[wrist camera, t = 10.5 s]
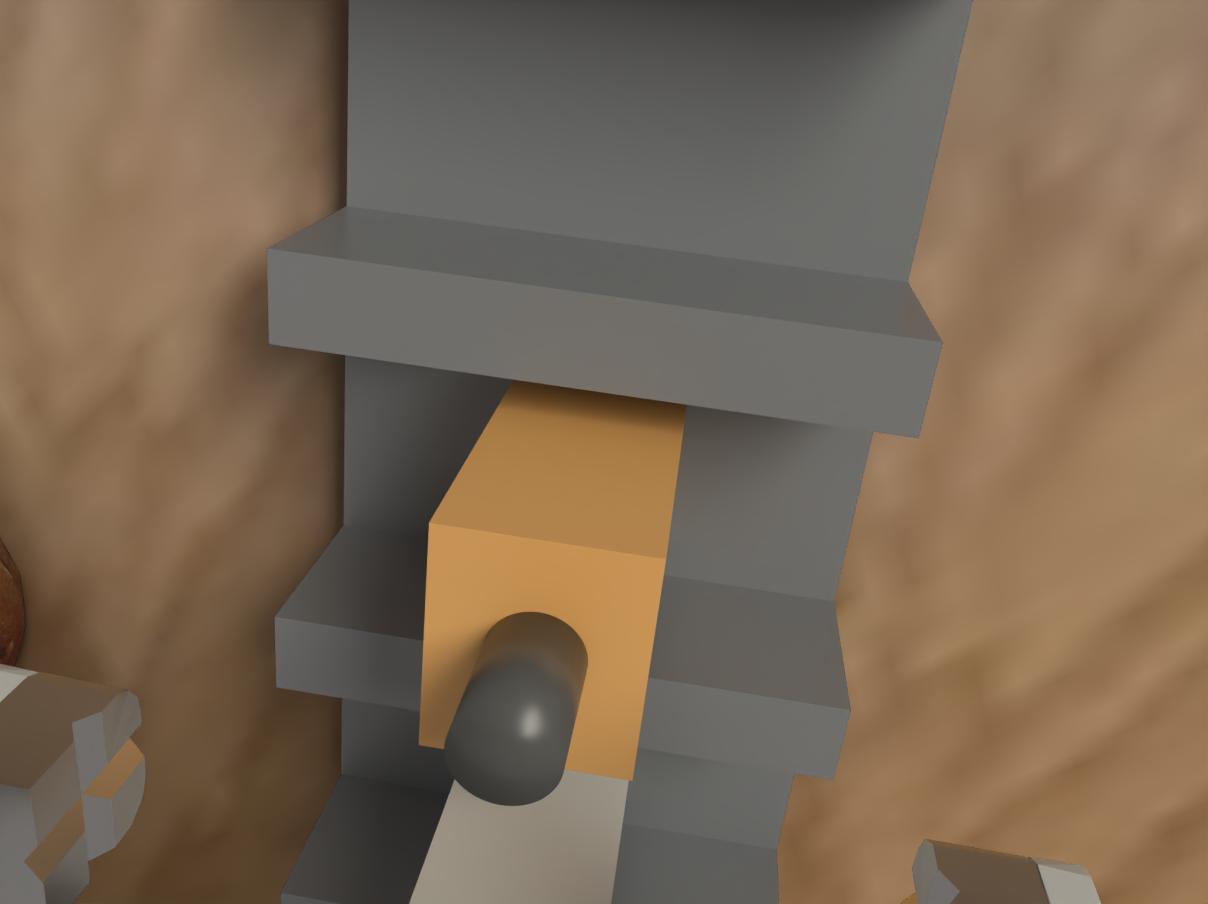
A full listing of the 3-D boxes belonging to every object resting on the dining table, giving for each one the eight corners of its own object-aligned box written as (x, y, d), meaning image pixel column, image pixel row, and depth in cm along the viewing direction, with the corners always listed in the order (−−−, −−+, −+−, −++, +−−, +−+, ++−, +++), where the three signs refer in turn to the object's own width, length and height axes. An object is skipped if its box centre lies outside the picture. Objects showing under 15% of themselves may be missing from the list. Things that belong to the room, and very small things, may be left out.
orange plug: (691, 374, 19) (653, 650, 11) (665, 540, 21) (616, 894, 13) (530, 351, 20) (379, 606, 11) (516, 518, 21) (372, 850, 13)
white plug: (644, 667, 22) (588, 1062, 14) (625, 797, 24) (563, 1227, 15) (504, 644, 22) (365, 1022, 14) (493, 774, 24) (361, 1186, 16)
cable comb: (991, -138, 17) (1073, -181, 13) (764, 866, 25) (769, 1036, 21) (371, -205, 17) (256, -267, 13) (354, 795, 26) (281, 947, 22)
